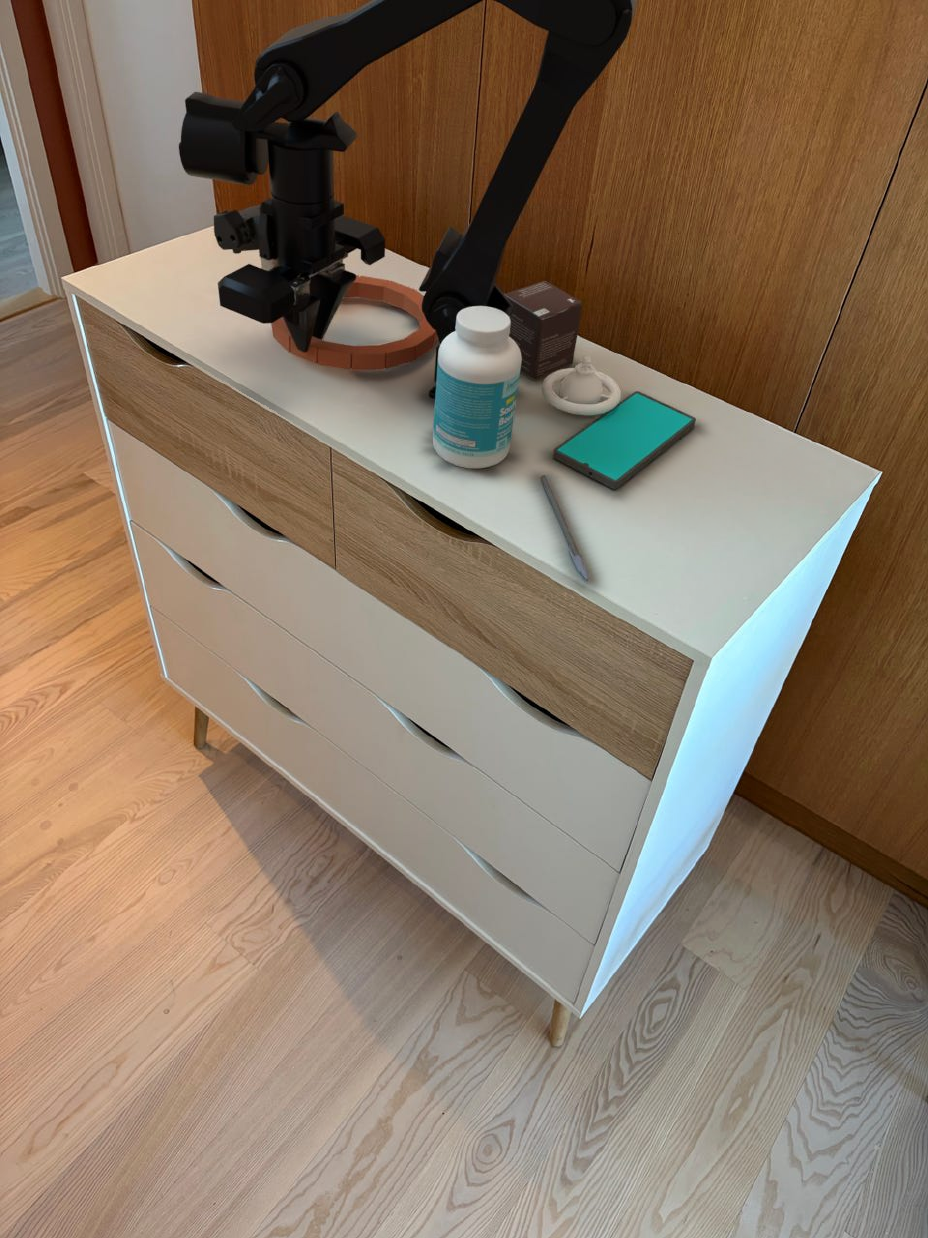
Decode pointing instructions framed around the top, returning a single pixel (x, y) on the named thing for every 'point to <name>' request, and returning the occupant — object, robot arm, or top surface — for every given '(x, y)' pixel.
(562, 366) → the box
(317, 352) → the ring
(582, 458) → the smartphone
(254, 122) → the robot arm
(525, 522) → the top surface
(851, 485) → the top surface
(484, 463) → the pill bottle
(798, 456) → the top surface
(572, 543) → the pen
